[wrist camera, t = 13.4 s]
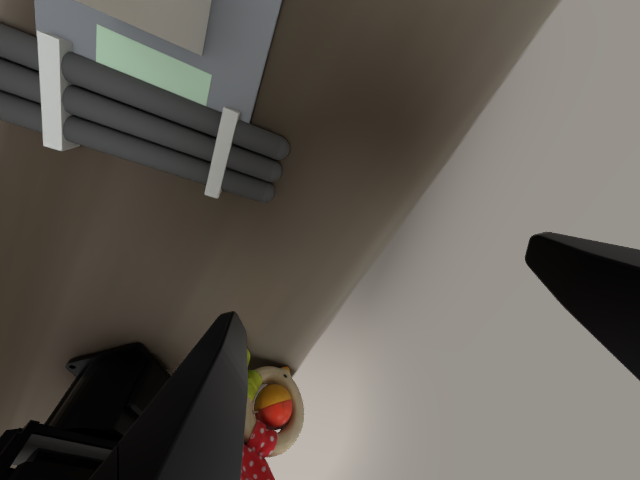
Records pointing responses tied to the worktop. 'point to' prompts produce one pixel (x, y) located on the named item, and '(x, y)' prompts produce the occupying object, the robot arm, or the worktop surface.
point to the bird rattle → (269, 419)
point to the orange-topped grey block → (162, 18)
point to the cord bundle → (131, 118)
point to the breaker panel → (176, 49)
